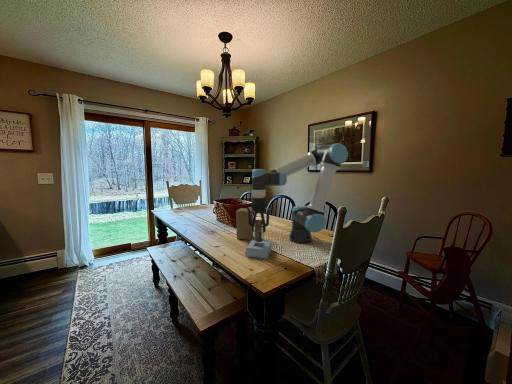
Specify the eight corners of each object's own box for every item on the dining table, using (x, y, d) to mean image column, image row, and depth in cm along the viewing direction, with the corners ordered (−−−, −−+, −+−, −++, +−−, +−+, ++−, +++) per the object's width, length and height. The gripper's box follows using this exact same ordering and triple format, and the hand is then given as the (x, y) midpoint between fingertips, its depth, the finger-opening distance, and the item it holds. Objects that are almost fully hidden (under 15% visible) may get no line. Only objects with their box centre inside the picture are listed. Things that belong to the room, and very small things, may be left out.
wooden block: (250, 240, 139) (250, 211, 136) (236, 239, 141) (235, 210, 138) (253, 235, 148) (253, 208, 146) (240, 234, 150) (239, 207, 148)
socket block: (271, 249, 123) (271, 241, 122) (267, 258, 111) (267, 249, 110) (252, 247, 126) (252, 240, 125) (246, 256, 114) (246, 247, 114)
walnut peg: (262, 239, 119) (263, 219, 117) (261, 242, 115) (261, 221, 113) (256, 239, 120) (256, 219, 118) (254, 241, 116) (254, 221, 114)
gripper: (274, 196, 116) (274, 236, 119) (246, 195, 120) (246, 233, 123) (272, 198, 108) (272, 240, 111) (242, 197, 113) (242, 238, 116)
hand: (258, 237), depth 117 cm, fingers closed on walnut peg, 4 cm apart
